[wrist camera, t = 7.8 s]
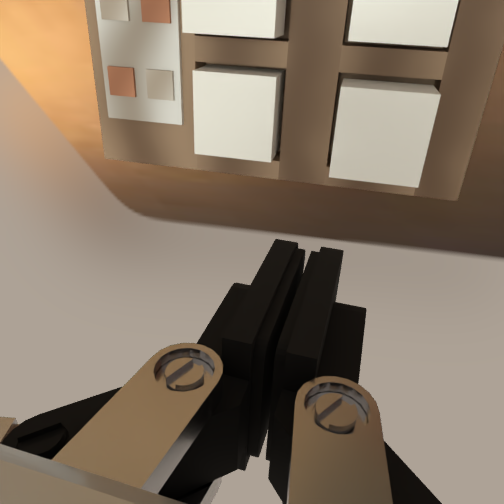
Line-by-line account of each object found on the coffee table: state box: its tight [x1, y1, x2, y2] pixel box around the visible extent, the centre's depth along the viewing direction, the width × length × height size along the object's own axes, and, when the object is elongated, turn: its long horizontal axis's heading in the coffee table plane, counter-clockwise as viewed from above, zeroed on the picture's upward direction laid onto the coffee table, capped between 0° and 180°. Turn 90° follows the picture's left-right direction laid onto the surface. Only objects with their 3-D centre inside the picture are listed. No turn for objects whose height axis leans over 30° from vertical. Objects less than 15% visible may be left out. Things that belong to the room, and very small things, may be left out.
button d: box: [193, 64, 285, 162], centre depth 26 cm, size 5×5×3 cm
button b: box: [329, 78, 441, 188], centre depth 23 cm, size 5×5×3 cm
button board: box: [85, 0, 504, 201], centre depth 25 cm, size 22×14×4 cm, turn 87°
